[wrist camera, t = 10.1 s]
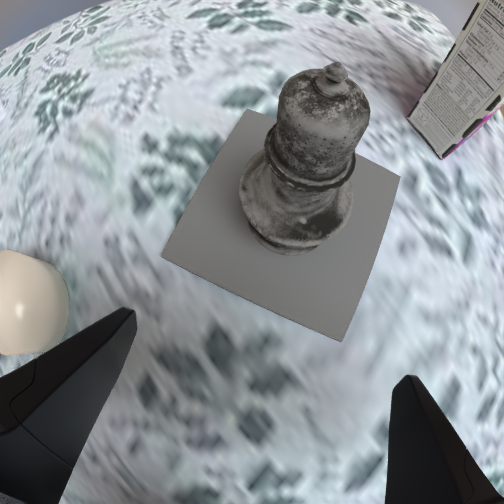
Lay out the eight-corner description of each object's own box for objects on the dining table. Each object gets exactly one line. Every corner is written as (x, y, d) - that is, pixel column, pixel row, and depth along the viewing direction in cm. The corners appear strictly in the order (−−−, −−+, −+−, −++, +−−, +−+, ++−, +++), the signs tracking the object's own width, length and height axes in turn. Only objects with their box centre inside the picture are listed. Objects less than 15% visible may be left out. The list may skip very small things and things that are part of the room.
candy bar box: (455, 86, 21) (525, -14, 5) (486, 122, 21) (570, 31, 5) (401, 117, 20) (491, -34, 4) (440, 163, 19) (564, 33, 3)
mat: (339, 341, 17) (341, 342, 16) (163, 257, 18) (160, 256, 17) (397, 180, 19) (400, 176, 18) (247, 113, 20) (247, 108, 20)
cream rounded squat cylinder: (53, 370, 17) (19, 376, 13) (2, 320, 17) (-30, 318, 13) (84, 287, 18) (49, 280, 14) (29, 246, 18) (-4, 233, 15)
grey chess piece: (266, 157, 19) (277, -5, 7) (348, 194, 18) (441, 61, 6) (224, 234, 18) (176, 97, 6) (314, 277, 17) (424, 203, 5)
